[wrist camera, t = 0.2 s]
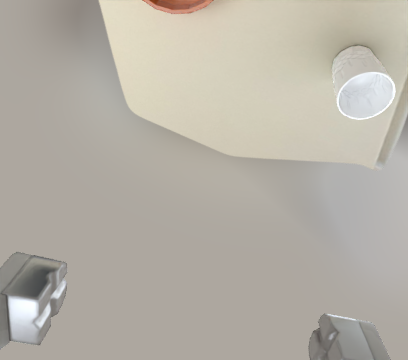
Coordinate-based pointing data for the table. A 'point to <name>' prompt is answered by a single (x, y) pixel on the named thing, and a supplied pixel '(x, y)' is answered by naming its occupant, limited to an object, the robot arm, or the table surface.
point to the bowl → (178, 5)
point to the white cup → (361, 83)
